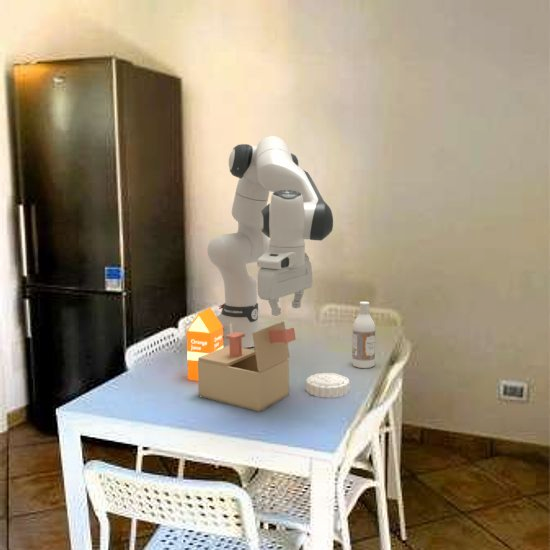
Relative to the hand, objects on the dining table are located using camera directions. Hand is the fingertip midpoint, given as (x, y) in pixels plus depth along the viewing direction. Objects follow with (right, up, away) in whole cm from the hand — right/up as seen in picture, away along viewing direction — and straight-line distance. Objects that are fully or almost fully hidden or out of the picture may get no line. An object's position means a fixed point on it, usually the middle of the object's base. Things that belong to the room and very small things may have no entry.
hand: (286, 311), depth 154 cm
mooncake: (+12, -23, +16) cm, 30 cm away
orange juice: (-23, -21, +28) cm, 42 cm away
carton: (-11, -24, +12) cm, 29 cm away
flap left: (-16, -13, +13) cm, 24 cm away
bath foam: (+25, -19, +37) cm, 48 cm away
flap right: (-4, -9, +4) cm, 11 cm away
